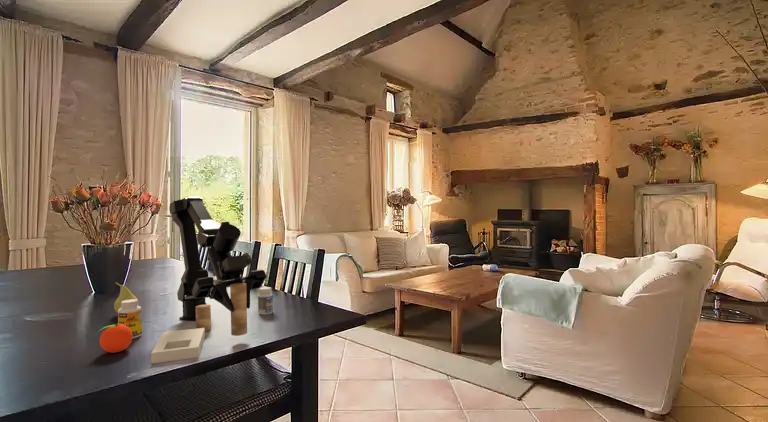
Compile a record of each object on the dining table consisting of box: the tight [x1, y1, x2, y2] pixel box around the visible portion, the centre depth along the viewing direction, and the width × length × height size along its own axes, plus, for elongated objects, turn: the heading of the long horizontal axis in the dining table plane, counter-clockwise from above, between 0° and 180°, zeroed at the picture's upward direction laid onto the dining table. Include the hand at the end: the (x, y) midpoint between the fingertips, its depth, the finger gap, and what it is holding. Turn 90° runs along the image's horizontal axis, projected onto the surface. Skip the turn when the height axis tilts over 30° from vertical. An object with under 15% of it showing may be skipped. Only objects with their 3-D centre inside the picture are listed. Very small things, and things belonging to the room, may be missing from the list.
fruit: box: [113, 281, 139, 314], centre depth 134 cm, size 7×8×12 cm
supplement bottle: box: [117, 298, 143, 340], centre depth 112 cm, size 6×6×10 cm
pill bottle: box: [257, 286, 274, 315], centre depth 134 cm, size 5×5×8 cm
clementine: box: [94, 323, 133, 354], centre depth 100 cm, size 8×7×7 cm
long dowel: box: [229, 283, 248, 337], centre depth 106 cm, size 4×4×13 cm
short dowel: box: [195, 304, 212, 333], centre depth 117 cm, size 4×4×7 cm
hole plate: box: [150, 327, 206, 364], centre depth 102 cm, size 16×10×2 cm, turn 19°
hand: (241, 309), depth 105 cm, fingers closed on long dowel, 4 cm apart
